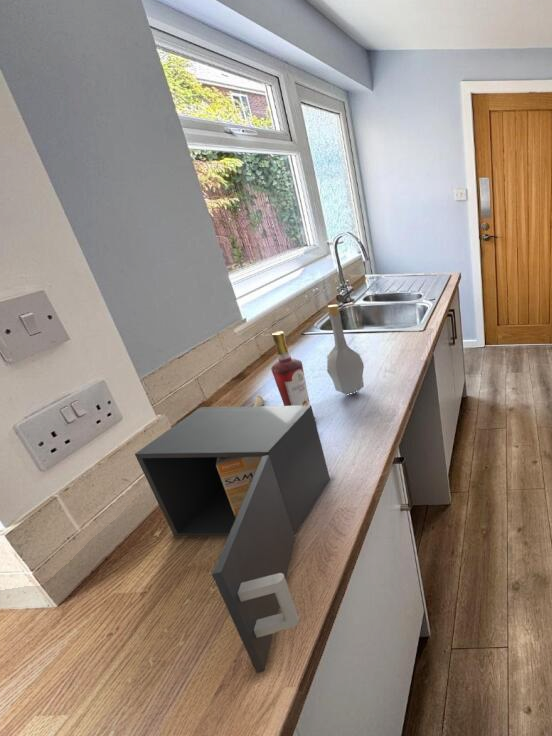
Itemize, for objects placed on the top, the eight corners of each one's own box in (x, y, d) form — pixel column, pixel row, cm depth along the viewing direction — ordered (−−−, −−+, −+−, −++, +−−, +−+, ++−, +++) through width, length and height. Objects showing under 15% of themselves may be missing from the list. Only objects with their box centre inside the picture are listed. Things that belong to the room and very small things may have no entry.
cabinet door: (325, 531, 79) (302, 448, 71) (305, 658, 58) (269, 560, 50) (290, 540, 77) (262, 456, 70) (256, 673, 56) (211, 574, 48)
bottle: (352, 406, 124) (333, 313, 112) (325, 400, 128) (303, 309, 116) (376, 389, 134) (361, 302, 122) (350, 384, 138) (332, 299, 126)
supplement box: (234, 518, 82) (213, 466, 77) (235, 503, 86) (216, 452, 80) (280, 502, 85) (263, 452, 80) (279, 489, 89) (263, 439, 84)
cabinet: (295, 536, 78) (267, 452, 70) (174, 537, 79) (134, 453, 71) (330, 480, 93) (311, 405, 85) (228, 481, 94) (200, 407, 86)
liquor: (303, 416, 119) (279, 327, 108) (322, 420, 117) (300, 330, 106) (282, 430, 113) (254, 336, 102) (302, 434, 110) (276, 339, 100)
